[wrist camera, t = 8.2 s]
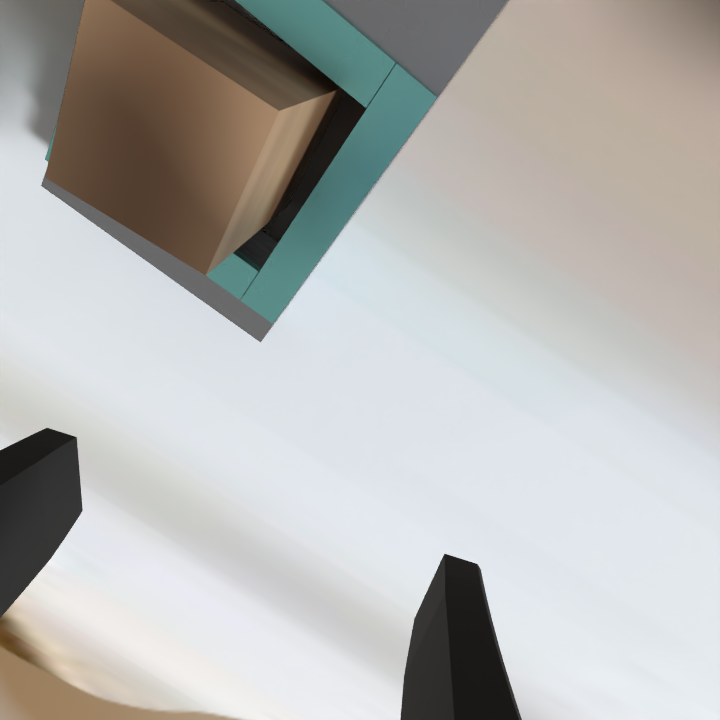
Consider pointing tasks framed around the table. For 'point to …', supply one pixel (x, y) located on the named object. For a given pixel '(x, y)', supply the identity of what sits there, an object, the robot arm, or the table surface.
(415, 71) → the grey slotted board
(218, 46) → the walnut block
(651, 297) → the table surface
